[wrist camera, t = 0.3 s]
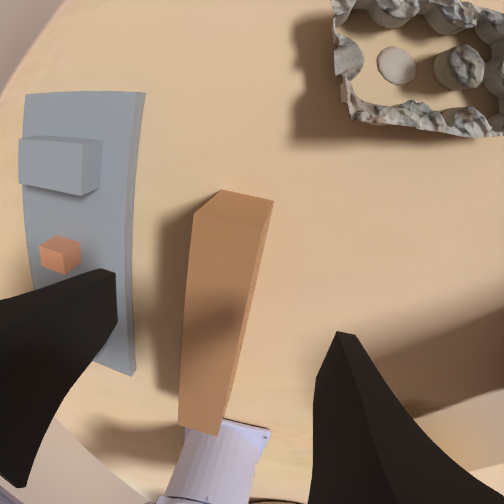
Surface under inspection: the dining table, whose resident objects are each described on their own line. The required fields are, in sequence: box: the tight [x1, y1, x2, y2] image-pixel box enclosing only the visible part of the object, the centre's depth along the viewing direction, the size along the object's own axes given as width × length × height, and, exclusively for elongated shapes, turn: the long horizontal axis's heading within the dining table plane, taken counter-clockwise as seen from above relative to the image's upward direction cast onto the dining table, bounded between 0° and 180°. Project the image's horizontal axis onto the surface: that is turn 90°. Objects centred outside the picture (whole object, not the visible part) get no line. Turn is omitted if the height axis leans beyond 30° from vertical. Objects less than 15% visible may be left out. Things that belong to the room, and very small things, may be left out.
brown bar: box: [178, 190, 274, 437], centre depth 19 cm, size 16×3×5 cm, turn 169°
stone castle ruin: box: [331, 0, 504, 138], centre depth 11 cm, size 11×8×4 cm
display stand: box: [18, 91, 145, 377], centre depth 20 cm, size 22×10×3 cm, turn 169°
